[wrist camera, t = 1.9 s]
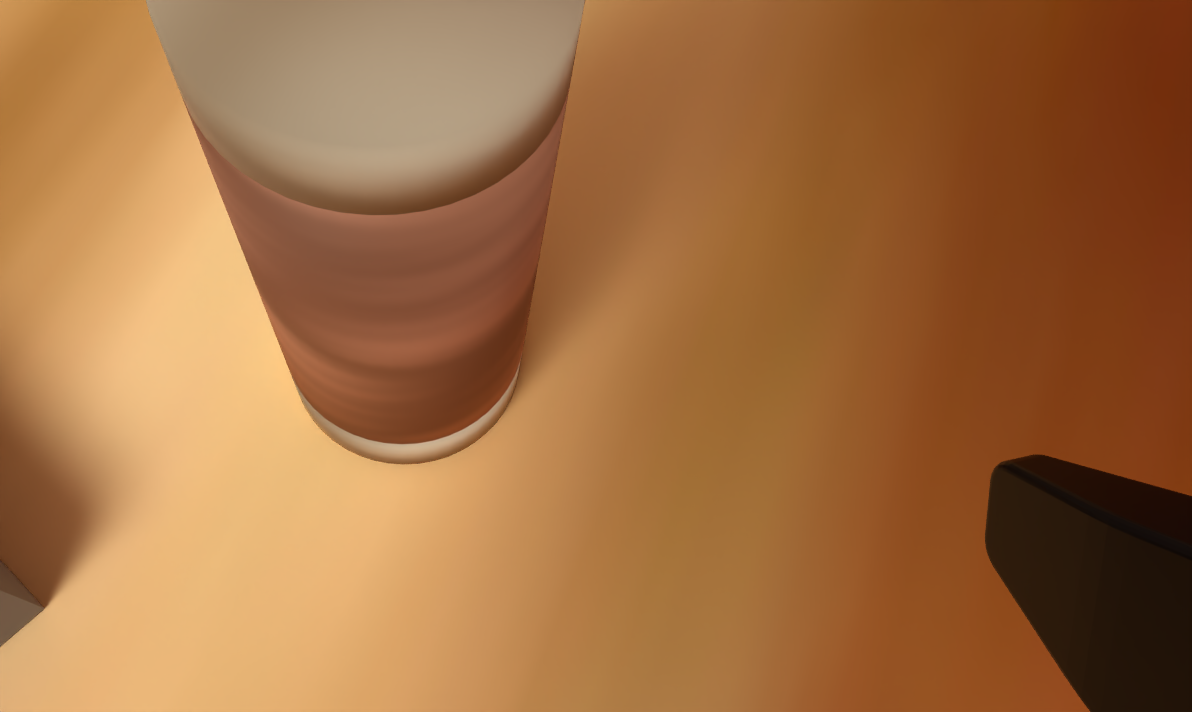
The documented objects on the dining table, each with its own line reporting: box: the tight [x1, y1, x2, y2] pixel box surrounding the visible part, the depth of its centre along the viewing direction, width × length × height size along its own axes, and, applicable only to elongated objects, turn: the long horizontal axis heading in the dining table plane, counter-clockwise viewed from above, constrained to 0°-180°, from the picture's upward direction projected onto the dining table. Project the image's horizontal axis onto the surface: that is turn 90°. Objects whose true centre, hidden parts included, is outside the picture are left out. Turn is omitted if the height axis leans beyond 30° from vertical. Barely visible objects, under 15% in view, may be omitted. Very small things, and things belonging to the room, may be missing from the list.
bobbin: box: [146, 0, 585, 464], centre depth 18 cm, size 5×5×12 cm
